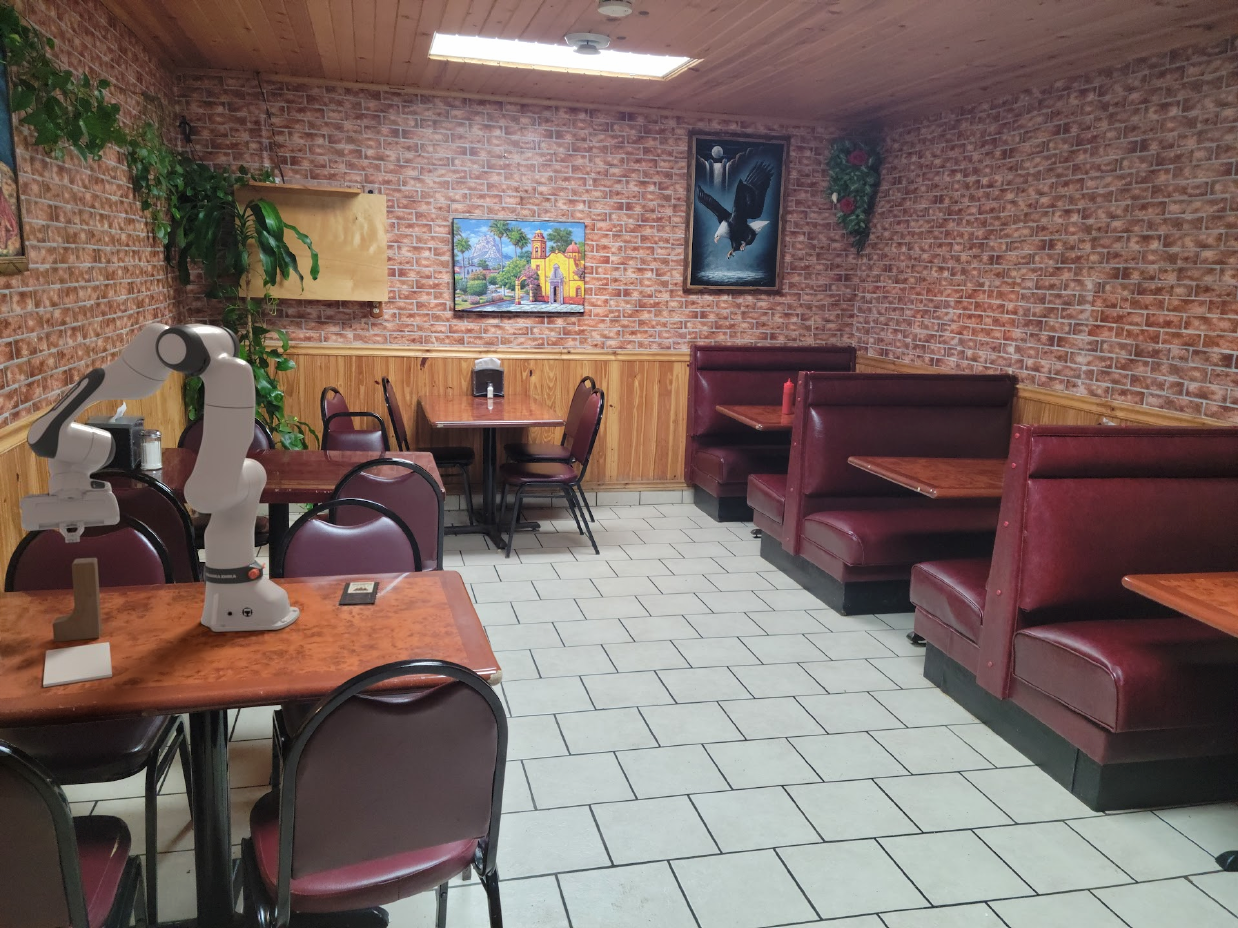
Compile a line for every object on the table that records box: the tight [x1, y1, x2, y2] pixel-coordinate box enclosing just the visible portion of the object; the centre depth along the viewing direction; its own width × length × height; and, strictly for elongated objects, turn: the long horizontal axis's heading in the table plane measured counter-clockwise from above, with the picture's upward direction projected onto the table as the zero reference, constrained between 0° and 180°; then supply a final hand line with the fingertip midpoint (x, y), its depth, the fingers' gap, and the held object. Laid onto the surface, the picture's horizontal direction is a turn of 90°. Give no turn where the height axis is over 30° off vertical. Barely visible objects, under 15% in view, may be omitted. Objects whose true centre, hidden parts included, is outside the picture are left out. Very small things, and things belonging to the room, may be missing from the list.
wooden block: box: [52, 557, 103, 643], centre depth 207 cm, size 9×4×18 cm, turn 111°
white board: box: [42, 641, 113, 688], centre depth 193 cm, size 20×12×1 cm, turn 30°
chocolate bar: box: [338, 581, 380, 606], centre depth 246 cm, size 9×1×18 cm
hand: (72, 540), depth 215 cm, fingers closed
